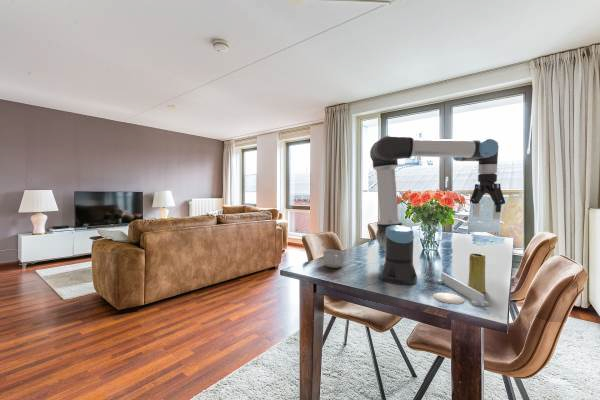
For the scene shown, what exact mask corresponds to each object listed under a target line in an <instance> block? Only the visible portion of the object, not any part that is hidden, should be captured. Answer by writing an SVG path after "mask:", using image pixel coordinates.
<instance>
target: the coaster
mask: <svg viewBox="0 0 600 400" xmlns="http://www.w3.org/2000/svg"><path fill="white" fill-rule="evenodd" d="M432 296H433V298H434V300H437V301H438V302H441V303H445V304H451V305H460V304H464V302H465V299H464V298H463V297H462V296H459V295H456V294H453V293H449V292H436V293H433V295H432Z"/></svg>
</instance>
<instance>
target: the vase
mask: <svg viewBox="0 0 600 400" xmlns="http://www.w3.org/2000/svg"><path fill="white" fill-rule="evenodd" d="M468 265H469V267H468V268H469V269H468V271H469V272H468V283H467V286H469V287H471V288H473V289H475V290H476V291H478V292H480V293H482V294H484V293H486V292H487V291H486V290H487V289H486V255H484V254H481V253H470V254H469V264H468Z"/></svg>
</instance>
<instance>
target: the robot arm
mask: <svg viewBox="0 0 600 400" xmlns="http://www.w3.org/2000/svg"><path fill="white" fill-rule="evenodd" d="M369 156H370V159H371V161H372V169H374V170H375V171H376V181H377V194H378V207H379V209H378V211H379V220H378V222H376V224H377V225H376V226H377V230H376V235H375V236H376V241H377V243H378V244H379V245H380V246H381V247H382V248H384V249H385V253H384V257H385V258H384V263H383V266H382V269H381V272H380V279H381V280H383V281H385V282H387V283H391V284H394V285H403V286H404V285H405V286H409V285H414V284H416V283H417V282H418V276H417V271H416V269H415V266H414V239H415V236H414V230H413V229H412V228H411V227H408V226H405V225H403V221H402V220H400V219H399V209H398V197H397V181H396V169H397V167H398V166H399V163H398V160H402V159H410V158H412V157H426V158H427V157H428V158H433V157H434V158H452V159H453V160H454V161H457V162H478V169H477V171H478V176H477V182H479V183H476V184H474V189H473V192H472V193H471V197H470V200H469V202H470V203H472V216H473V217H477V218H478V217H480V204H481V203H480V201H481V200H482V198H483V196H484V195H485V194H488V195H489V196H490V198H491V200H492V201H493V205H492V206H493V210H492V220H500V219H501V211H502V206H503V205H505V204H506V200H505V198H504V194H503V191H502V187H501V183H496V182H497V180H498V174H497V173H498V163H499V162H498V159H499V143H498V141H496V140H495V139H493V138H485V139H482V140H481V139H480V140H475V139H474V140H470V139H442V138H441V139H437V138H436V139H433V138H430V139H429V138H414V137H413V136H412V135H411V136H410V135H409V136H408V135H392V134H391V135H386V136H382V137H381V138H380V139H379V140H377V141H375V142H374V143H373V144H372V146H371V148H370V150H369Z"/></svg>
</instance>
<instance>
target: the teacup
mask: <svg viewBox="0 0 600 400" xmlns="http://www.w3.org/2000/svg"><path fill="white" fill-rule="evenodd" d="M344 259H345V252H344V251H342V250H337V249H324V250H323V264H324V265H325V266H326V267H328V268H333V269H334V268H335V269H336V268H340V267H341V266H343V264H344Z"/></svg>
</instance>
